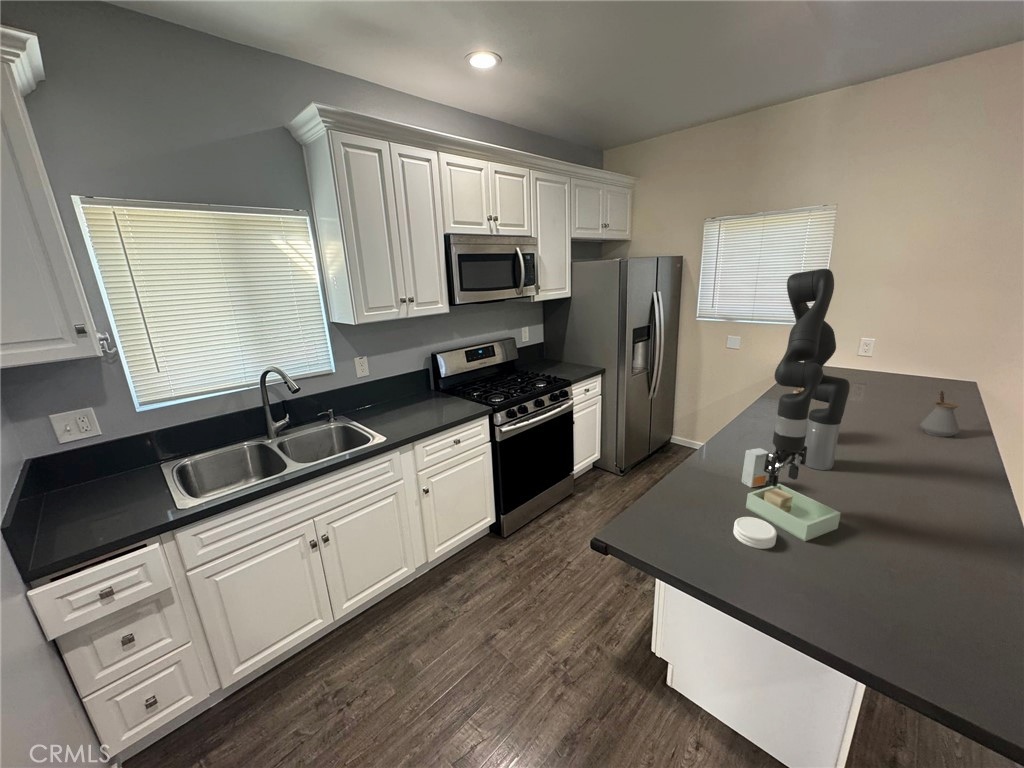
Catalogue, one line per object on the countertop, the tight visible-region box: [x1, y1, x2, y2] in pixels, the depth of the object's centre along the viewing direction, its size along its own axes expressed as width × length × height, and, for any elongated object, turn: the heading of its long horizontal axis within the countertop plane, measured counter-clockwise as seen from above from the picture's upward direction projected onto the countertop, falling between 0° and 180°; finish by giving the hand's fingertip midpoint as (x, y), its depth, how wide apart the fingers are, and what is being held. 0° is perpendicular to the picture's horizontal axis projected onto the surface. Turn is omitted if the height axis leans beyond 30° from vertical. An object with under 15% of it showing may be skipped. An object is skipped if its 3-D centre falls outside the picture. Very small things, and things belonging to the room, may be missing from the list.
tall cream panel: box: [792, 388, 817, 423], centre depth 168 cm, size 8×12×26 cm
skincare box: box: [741, 447, 769, 488], centre depth 135 cm, size 6×4×12 cm
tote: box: [745, 483, 842, 542], centre depth 117 cm, size 14×18×5 cm
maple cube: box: [764, 488, 793, 512], centre depth 121 cm, size 5×5×5 cm
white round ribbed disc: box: [732, 516, 778, 550], centre depth 110 cm, size 10×10×4 cm
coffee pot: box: [919, 390, 961, 438], centre depth 172 cm, size 21×12×15 cm, turn 140°
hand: (782, 481), depth 119 cm, fingers open, 8 cm apart
